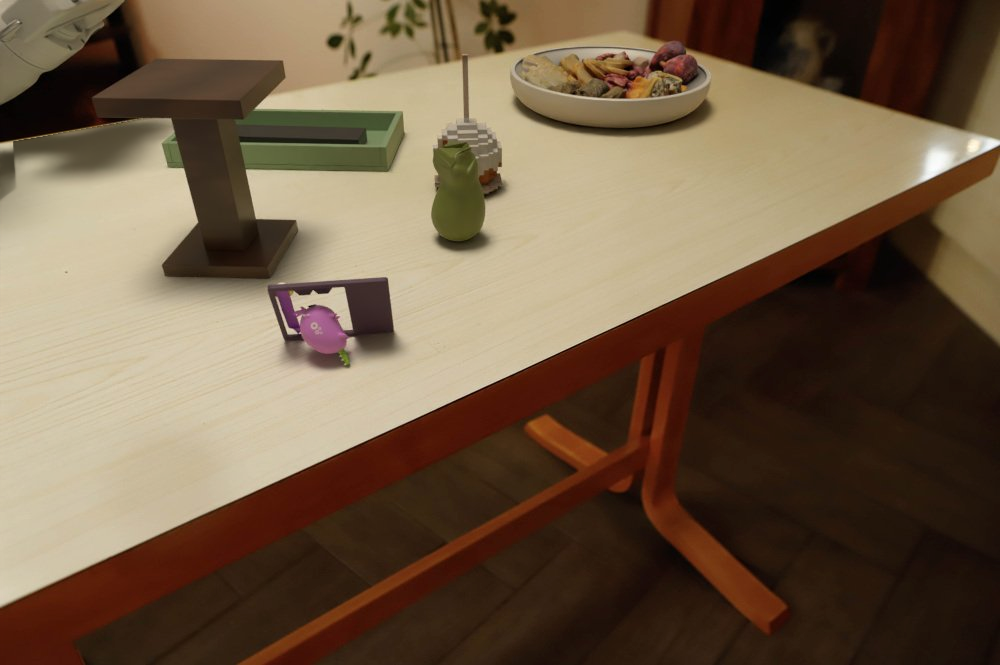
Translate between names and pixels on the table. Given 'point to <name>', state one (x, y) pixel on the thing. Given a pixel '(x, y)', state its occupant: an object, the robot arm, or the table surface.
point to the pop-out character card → (322, 323)
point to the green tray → (372, 156)
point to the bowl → (611, 84)
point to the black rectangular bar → (301, 134)
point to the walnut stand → (209, 157)
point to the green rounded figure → (457, 193)
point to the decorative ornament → (474, 141)
